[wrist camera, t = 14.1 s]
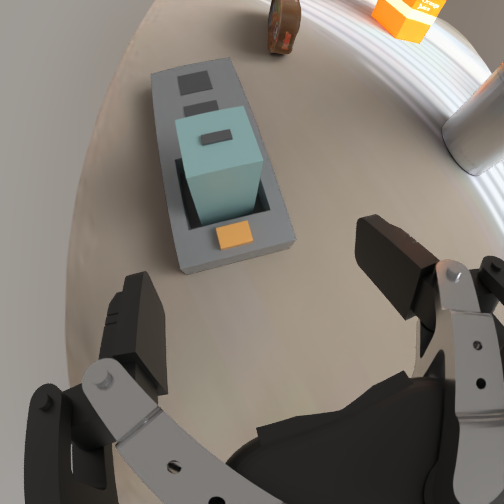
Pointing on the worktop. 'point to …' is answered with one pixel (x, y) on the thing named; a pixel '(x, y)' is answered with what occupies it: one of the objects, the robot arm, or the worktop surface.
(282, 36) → the tin
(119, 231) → the worktop surface
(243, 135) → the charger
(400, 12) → the orange juice
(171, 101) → the power strip
